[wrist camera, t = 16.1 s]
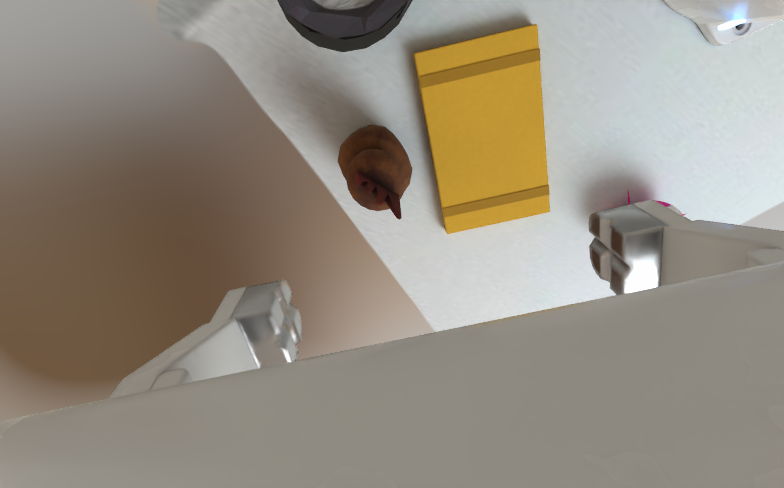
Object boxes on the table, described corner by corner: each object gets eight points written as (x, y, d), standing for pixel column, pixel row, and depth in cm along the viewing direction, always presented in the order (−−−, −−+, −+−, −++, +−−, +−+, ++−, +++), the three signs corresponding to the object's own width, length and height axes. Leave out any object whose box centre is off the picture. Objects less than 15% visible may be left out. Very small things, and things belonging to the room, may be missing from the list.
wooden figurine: (417, 164, 44) (438, 219, 31) (371, 195, 45) (371, 261, 32) (379, 107, 42) (383, 138, 28) (331, 141, 43) (312, 187, 29)
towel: (532, 24, 39) (537, 23, 38) (546, 208, 47) (550, 212, 46) (413, 53, 40) (414, 53, 39) (445, 229, 47) (447, 234, 46)
